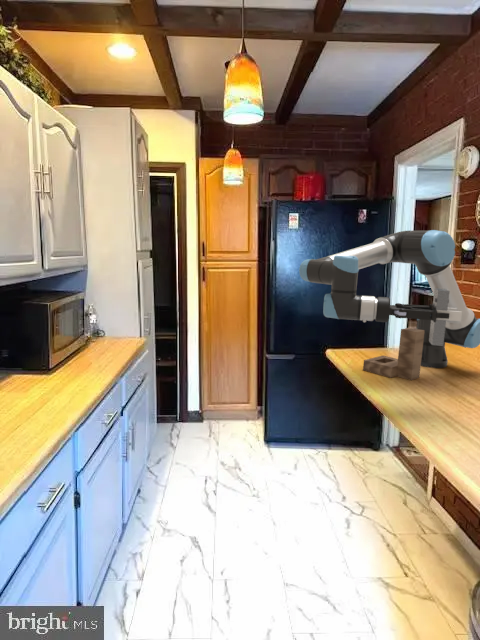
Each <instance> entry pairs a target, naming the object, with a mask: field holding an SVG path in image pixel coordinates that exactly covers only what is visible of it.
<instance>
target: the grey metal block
mask: <svg viewBox="0 0 480 640" xmlns="http://www.w3.org/2000/svg"><path fill="white" fill-rule="evenodd" d="M449 292H450V291H449V290H447V289H437V288H435V289H434V294H433V301H432V310H436V311H437V310H446V311H447V310H448V303H449ZM445 327H446V320H436V322H433V321H432V320H431V326H430V335H429V342H430V343H431V344H432V345H437V346H443V344H444V335H445Z"/></svg>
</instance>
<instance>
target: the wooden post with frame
mask: <svg viewBox="0 0 480 640" xmlns="http://www.w3.org/2000/svg"><path fill="white" fill-rule="evenodd" d="M424 332H425V330H419V329H416V328H414V327H406V328H401V329H400V334H399V335H400V337H399V346H398V356H397V358H396V357H392V356H388V355H380V356H376V357H371V358H367V359H364V360H363V366H362V371H365V372H368V373H372V374H376V375H379V376H383V377H386V378H395V377H397V378H398V377H399V378H401V379H405V380H409V381H413V380H416V379H419V378H420V375H421V367H422V366H421V358H422V349H423V341H424Z"/></svg>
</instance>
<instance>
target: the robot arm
mask: <svg viewBox="0 0 480 640" xmlns="http://www.w3.org/2000/svg"><path fill="white" fill-rule="evenodd" d="M455 249H456V243H455V240H454V238H453V236H452V235H451V234H450V233H448V232H446V231H444V230H437V229H431V230H430V229H429V230H403V231H398V232H394V233H391V234H387V235H384V236H381V237H379V238H376V239H375V240H374V241H373V242H371V243H368V244H365V245H360V246H358V247H355V248H351V249H347V250H344V251H341V252H337V253H335V254H331V255H327V256H324V257H321V258H317V259H314V258H310V259H309V258H308V259H305V260H303V261H302V262H301V264H300V265H299V269H298V270H299V271H298V273H299V277H300V279H302V280H303V281H305V282H309V283H310V284H311V283H313V284H314V283H315V284H323V285H328V286H329V285H331V292H330V293H325V294H324V297H323V308H322V309H323V311H322V312H323V316H324V317H325V318H328V319H329V318H331V319H337V320H348V321H349V320H351V321H353V320H354V321H362V322H363V323H367V321H368V322H373V321H374V320H375V322H376V323H377V322H378V323H388V322H389V319H390V316H394V317H395V318H396V319H411V320H412V319H414V320H416V328H415V329H419V330H425V332H424V341H423V349H422V358H421V367H425V368H434V369H441V368H442V369H443V368H446V367H447V366H448V361H449V360H448V356H447V353H446V352H447V351H446V347H445V346H446V344H451V345H454V346H459V347H462V348H468V349H475V348H477V347H478V346H479V345H480V318H476V315H475V313H474V311H473V310H472V309H470V308H468V307H467V304H466V303H465V300H464V298H463V294H462V293H461V290H460V287H459V285H458V282H457V280H456V278H455V275H454V272H453V270H452V268H451V264H452V263H453V260H454V258H455V254H456V251H455ZM389 263H401V264H409V265H410V264H412V265H415V267H416V269H417V271H418V273H419V274H420V275H422V276H425V278H426V280H427V282H428V284H429V287H430V288H431V289H430V290H431V291H432V293H433V295H434V289H435V288H437V289H447V290H449V291H450V292H449V303H448V310H447V311H446V310H437V311H436V310H432V304H433V303H432V304H431V303H429V305H428V304H427V305H420V304H408V303H406V304H405V303H399V302H398V303H397V302H396V303H395V304H391V298H390V297H386V296H378V297H376V296H374V295H357V289H358V288H357V286H358V276H359V271H360V270H361V269H364V268H367V267H371V266H374V265H377V264H380V265H385V264H389ZM431 320H432V321H433V322H436V320H446V327H445V335H444V344H443V346H437V345H432V344H431V343H430V342H429V335H430V326H431Z"/></svg>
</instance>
